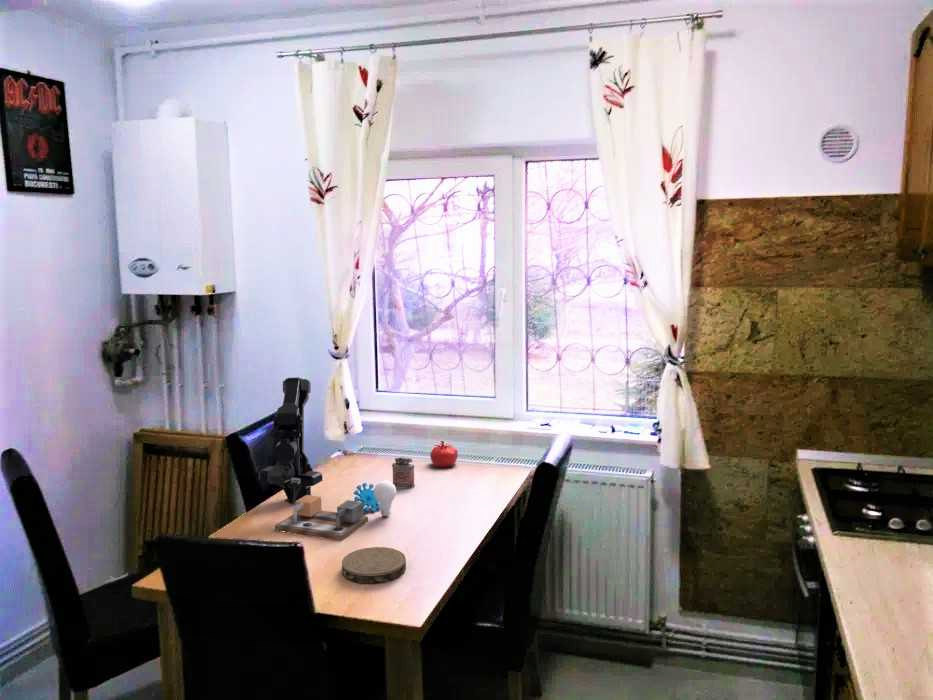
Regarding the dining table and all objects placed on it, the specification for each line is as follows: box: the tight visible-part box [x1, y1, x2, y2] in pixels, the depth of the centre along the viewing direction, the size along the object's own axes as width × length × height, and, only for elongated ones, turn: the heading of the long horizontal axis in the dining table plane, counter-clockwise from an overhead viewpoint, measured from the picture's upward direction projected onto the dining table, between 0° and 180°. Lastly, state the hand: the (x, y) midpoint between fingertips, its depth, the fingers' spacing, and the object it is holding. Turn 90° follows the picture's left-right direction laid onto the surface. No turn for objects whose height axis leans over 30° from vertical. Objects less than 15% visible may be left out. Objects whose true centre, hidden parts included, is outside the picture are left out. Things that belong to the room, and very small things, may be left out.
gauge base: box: [274, 499, 369, 542], centre depth 216 cm, size 22×15×7 cm
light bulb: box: [373, 479, 397, 517], centre depth 223 cm, size 7×7×11 cm
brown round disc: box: [341, 546, 407, 586], centre depth 187 cm, size 16×16×3 cm
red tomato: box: [429, 440, 459, 468], centre depth 273 cm, size 10×10×9 cm
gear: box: [353, 482, 381, 513], centre depth 231 cm, size 11×6×10 cm
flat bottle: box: [391, 456, 416, 489], centre depth 250 cm, size 8×3×10 cm, turn 68°
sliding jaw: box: [292, 494, 323, 523], centre depth 218 cm, size 5×10×4 cm, turn 159°
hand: (291, 503), depth 222 cm, fingers closed
